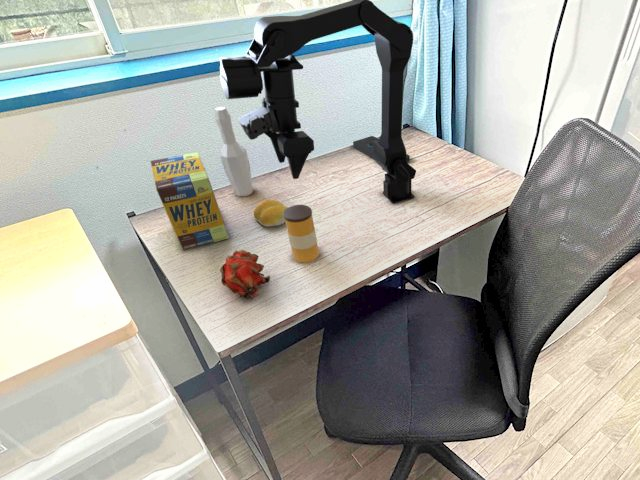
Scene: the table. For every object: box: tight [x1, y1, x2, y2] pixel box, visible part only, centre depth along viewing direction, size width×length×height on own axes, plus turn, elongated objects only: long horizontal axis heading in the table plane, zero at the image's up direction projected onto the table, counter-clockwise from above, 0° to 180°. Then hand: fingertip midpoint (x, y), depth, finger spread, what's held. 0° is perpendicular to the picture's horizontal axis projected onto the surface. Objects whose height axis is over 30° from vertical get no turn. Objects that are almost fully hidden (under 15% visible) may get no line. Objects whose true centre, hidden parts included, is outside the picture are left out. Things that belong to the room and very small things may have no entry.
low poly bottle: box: [214, 106, 254, 197], centre depth 110 cm, size 6×6×22 cm
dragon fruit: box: [219, 249, 271, 300], centre depth 85 cm, size 8×8×12 cm
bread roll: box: [253, 199, 289, 228], centre depth 106 cm, size 8×9×4 cm
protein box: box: [150, 152, 229, 251], centre depth 99 cm, size 10×15×16 cm
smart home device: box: [352, 135, 410, 163], centre depth 133 cm, size 8×2×20 cm
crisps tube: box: [283, 204, 320, 264], centre depth 92 cm, size 6×6×11 cm
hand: (288, 170), depth 95 cm, fingers open, 9 cm apart
